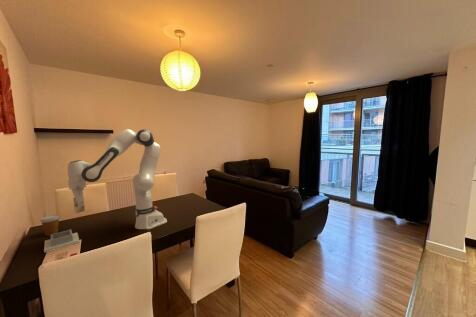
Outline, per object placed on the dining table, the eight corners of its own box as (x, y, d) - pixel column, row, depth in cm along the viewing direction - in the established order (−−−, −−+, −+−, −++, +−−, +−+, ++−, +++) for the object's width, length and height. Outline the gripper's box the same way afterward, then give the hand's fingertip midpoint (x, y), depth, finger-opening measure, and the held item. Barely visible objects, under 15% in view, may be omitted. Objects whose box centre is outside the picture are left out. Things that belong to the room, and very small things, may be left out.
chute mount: (77, 234, 136) (76, 226, 136) (79, 242, 125) (78, 234, 125) (45, 243, 125) (44, 234, 125) (44, 252, 114) (43, 243, 114)
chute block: (83, 209, 134) (82, 196, 133) (84, 211, 130) (83, 198, 129) (74, 211, 130) (73, 197, 130) (74, 213, 127) (73, 199, 126)
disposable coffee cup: (55, 229, 144) (54, 213, 143) (63, 231, 141) (62, 215, 139) (38, 235, 135) (37, 218, 134) (47, 238, 132) (45, 220, 131)
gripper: (85, 187, 123) (87, 208, 125) (82, 182, 138) (83, 201, 140) (72, 188, 119) (74, 211, 120) (70, 183, 134) (71, 203, 135)
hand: (79, 205), depth 130 cm, fingers closed on chute block, 5 cm apart
